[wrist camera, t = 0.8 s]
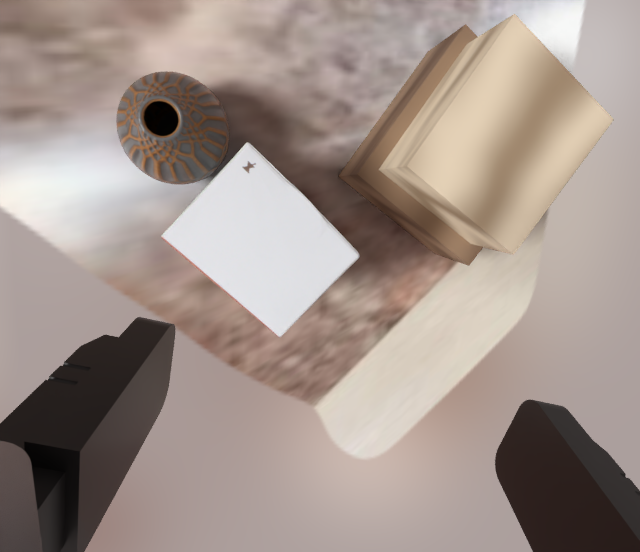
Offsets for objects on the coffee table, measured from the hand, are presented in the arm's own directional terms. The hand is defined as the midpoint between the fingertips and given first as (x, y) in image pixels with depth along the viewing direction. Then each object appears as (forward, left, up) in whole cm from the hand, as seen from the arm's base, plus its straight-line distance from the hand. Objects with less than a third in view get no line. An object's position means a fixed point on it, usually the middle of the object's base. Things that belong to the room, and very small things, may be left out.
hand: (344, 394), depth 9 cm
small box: (-2, +1, -25) cm, 25 cm away
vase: (-10, +3, -25) cm, 27 cm away
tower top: (+7, +14, -19) cm, 25 cm away
